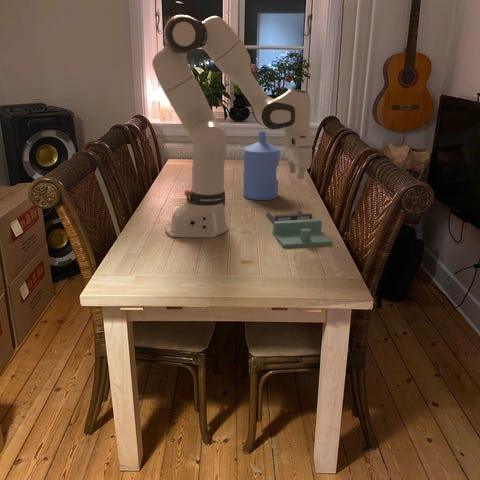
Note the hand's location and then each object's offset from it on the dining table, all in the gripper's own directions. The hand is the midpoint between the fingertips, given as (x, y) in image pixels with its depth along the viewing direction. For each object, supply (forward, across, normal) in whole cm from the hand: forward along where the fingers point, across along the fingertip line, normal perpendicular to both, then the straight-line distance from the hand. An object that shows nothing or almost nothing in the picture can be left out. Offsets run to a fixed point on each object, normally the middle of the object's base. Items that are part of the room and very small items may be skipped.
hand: (296, 175), depth 182 cm
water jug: (+19, -40, -4) cm, 44 cm away
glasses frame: (+19, -5, -1) cm, 19 cm away
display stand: (+19, +15, -3) cm, 24 cm away
